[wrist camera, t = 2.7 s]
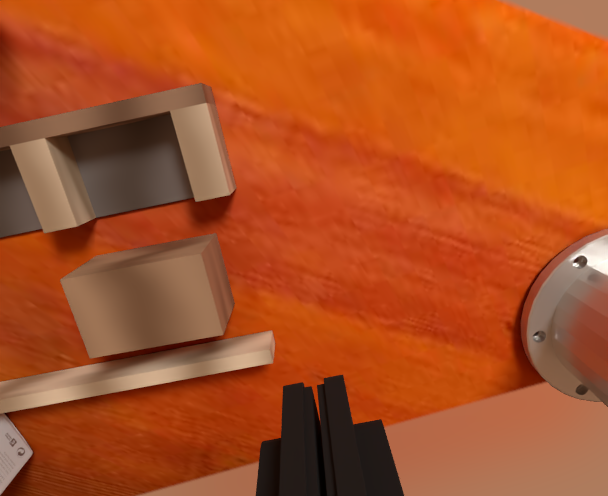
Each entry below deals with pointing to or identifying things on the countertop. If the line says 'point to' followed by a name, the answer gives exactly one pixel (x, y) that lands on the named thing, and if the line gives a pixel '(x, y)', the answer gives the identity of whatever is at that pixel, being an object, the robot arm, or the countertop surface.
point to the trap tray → (115, 199)
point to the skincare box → (11, 452)
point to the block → (151, 296)
